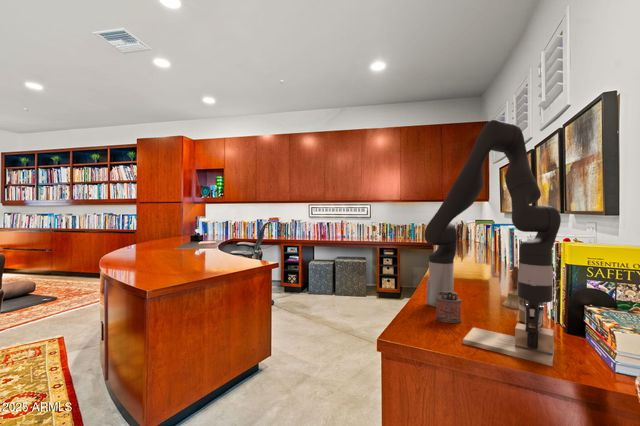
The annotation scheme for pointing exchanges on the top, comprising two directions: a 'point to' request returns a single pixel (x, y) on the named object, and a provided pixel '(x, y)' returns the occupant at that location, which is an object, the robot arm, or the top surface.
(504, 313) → the top surface
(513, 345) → the birch board
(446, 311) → the lighter
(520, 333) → the beige rectangular block
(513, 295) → the hand bell
